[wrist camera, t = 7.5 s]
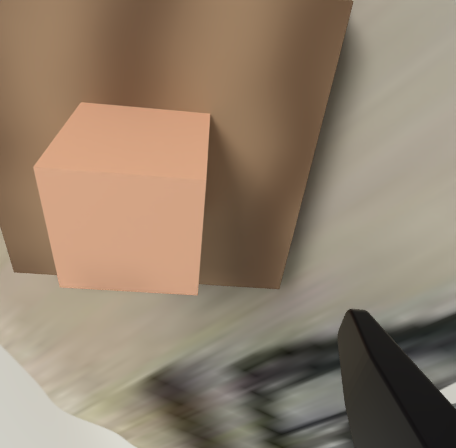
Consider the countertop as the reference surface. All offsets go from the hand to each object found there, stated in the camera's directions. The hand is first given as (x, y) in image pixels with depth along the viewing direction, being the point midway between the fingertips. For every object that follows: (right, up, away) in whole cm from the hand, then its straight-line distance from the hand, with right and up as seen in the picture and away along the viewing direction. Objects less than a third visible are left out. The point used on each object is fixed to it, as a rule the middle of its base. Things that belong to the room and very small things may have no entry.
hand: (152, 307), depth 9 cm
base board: (-2, +6, +10) cm, 12 cm away
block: (-2, +4, +8) cm, 9 cm away
